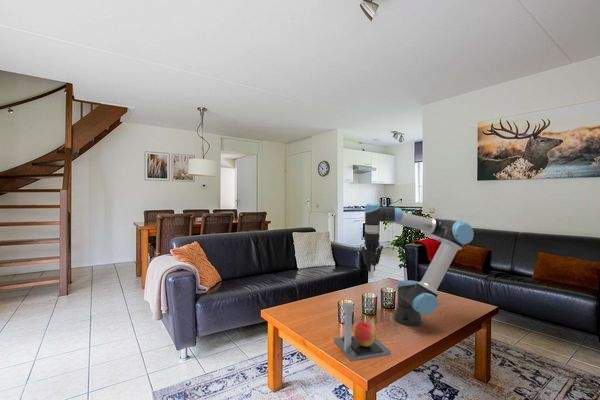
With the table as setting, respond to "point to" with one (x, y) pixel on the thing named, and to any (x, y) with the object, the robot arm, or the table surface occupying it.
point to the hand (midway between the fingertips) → (371, 277)
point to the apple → (365, 334)
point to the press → (352, 346)
